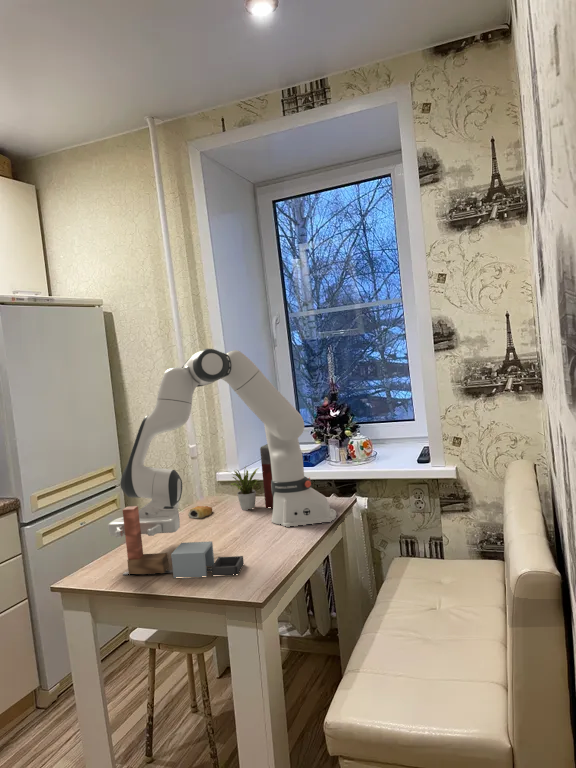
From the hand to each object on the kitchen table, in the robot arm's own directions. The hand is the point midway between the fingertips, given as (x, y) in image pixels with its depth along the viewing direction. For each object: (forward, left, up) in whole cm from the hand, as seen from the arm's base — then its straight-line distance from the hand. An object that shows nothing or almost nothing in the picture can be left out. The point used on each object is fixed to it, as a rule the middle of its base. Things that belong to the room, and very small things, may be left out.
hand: (134, 533), depth 167 cm
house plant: (-18, -61, -12) cm, 65 cm away
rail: (-9, 0, -11) cm, 14 cm away
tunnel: (-16, 0, -11) cm, 20 cm away
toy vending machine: (-32, -64, -12) cm, 72 cm away
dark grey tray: (-26, 0, -11) cm, 28 cm away
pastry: (-2, -55, -12) cm, 57 cm away
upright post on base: (-3, 0, -11) cm, 11 cm away
